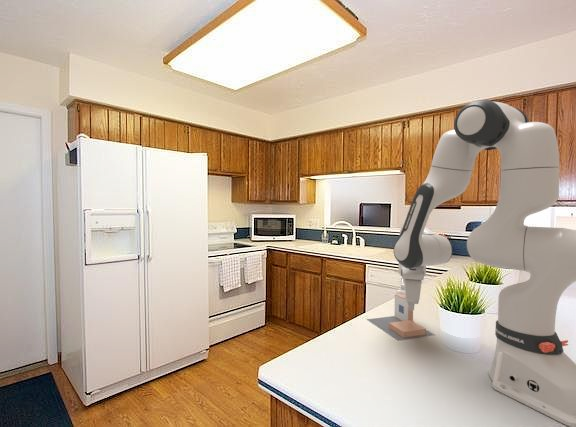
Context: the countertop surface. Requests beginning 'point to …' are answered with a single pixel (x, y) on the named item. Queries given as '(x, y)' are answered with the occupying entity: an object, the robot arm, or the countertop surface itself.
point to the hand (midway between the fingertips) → (411, 308)
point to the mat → (384, 325)
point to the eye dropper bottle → (402, 290)
